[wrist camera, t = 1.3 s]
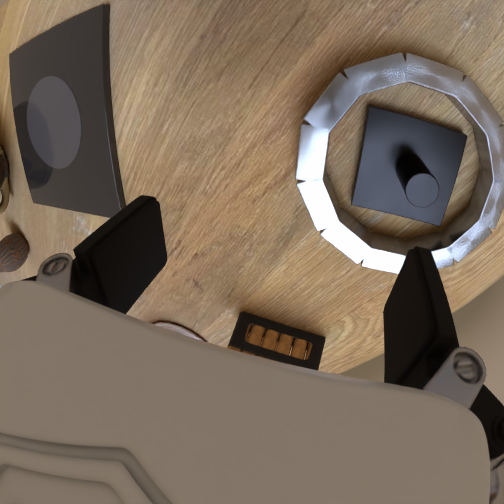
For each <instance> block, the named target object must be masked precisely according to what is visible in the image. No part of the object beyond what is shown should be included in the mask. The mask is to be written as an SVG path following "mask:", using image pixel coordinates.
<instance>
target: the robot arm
mask: <svg viewBox="0 0 504 504" xmlns="http://www.w3.org/2000/svg"><path fill="white" fill-rule="evenodd" d="M73 250H74V253H75V256H76V258H75V259H74V260H73V259H72V257H71V255H69V254H67V253H59V254H55V255H52V256H51V257H49V258H47V259H46V260H45V261H44V262H43V263H42V264H41V265H40V268H39V270H38V274H37V276H33V277H30V278H27V279H24V280H21V281H14V282H10V283H8V284H6V285H4V286H3V287H1V288H0V504H504V406H503V405H502V403H501V402H500V401H499V400H498V399H497V398H496V397H495V396H494V395H493V394H492V393H491V391H490V390H488V388H487V387H486V386H485V385H484V384H483V383H484V381H485V378H486V367H485V364H484V362H483V360H482V358H481V357H480V356H479V355H478V354H477V352H475V351H474V350H472V349H470V348H467V347H459V343H458V339H457V334H456V330H455V326H454V322H453V318H452V314H451V310H450V307H449V303H448V300H447V296H446V293H445V290H444V287H443V284H442V281H441V278H440V275H439V272H438V269H437V266H436V263H435V260H434V257H433V254H432V252H431V250H430V249H427V248H423V247H418V246H415V247H414V248H413V249H409V250H408V252H407V255H406V257H405V260H404V262H403V265H402V267H401V270H400V272H399V275H398V277H397V279H396V282H395V284H394V286H393V288H392V291H391V293H390V295H389V297H388V300H387V302H386V304H385V307H384V312H383V317H384V348H385V374H384V375H385V377H384V383H383V382H377V381H371V380H364V379H359V378H353V377H348V376H343V375H338V374H333V373H327V372H322V371H317V370H313V369H308V368H303V367H299V366H294V365H290V364H286V363H281V362H277V361H273V360H269V359H265V358H261V357H257V356H254V355H250V354H246V353H242V352H239V351H235V350H231V349H228V348H224V347H221V346H218V345H214V344H211V343H208V342H204V341H201V340H198V339H195V338H192V337H188V336H185V335H182V334H179V333H176V332H173V331H170V330H167V329H164V328H162V327H159V326H156V325H153V324H150V323H147V322H145V321H142V320H139V319H137V318H134V317H131V316H129V315H126V313H127V312H128V311H129V309H130V308H131V307H132V306H133V304H134V303H135V302H136V300H137V299H138V298H139V297H140V295H141V294H142V293H143V292H144V290H145V289H146V288H147V287H148V285H149V284H150V283H151V282H152V281H153V279H154V278H155V277H156V276H157V274H158V273H159V272H160V271H161V270H162V268H163V267H164V266H165V264H166V262H167V252H166V245H165V239H164V232H163V225H162V218H161V210H160V204H159V202H158V201H157V200H156V198H155V197H151V196H144V195H141V196H139V197H138V198H136V199H135V200H134V201H132V202H131V203H130V204H128V205H127V206H126V207H124V208H123V209H122V210H121V211H119V212H118V213H117V214H115V215H114V216H113V217H112V218H110V219H109V220H108V221H107V222H105V223H104V224H103V225H102V226H100V227H99V228H98V229H97V230H96V231H94V232H93V233H92V234H91V235H90V236H88V237H87V238H86V239H85V240H84V241H82V242H81V243H80V244H79V245H78V246H77V247H75V248H74V249H73Z"/></svg>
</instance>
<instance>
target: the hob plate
mask: <svg viewBox="0 0 504 504" xmlns="http://www.w3.org/2000/svg"><path fill="white" fill-rule="evenodd" d="M109 10H110V5H105V4H103V5H100V6H98V7H95V8H93V9H91V10H88V11H86V12H84V13H81V14H79V15H77V16H75V17H73V18H71V19H69V20H67V21H65V22H63V23H61V24H59V25H57V26H55V27H53V28H51V29H49V30H48V31H46V32H44V33H42V34H40V35H39V36H37V37H35V38H34V39H32V40H30V41H29V42H27V43H26V44H24V45H22V46H21V47H19V48H18V49H16V50H15V51H13V52H12V53H10V54H9V65H10V83H11V95H12V104H13V112H14V119H15V126H16V132H17V138H18V143H19V148H20V153H21V157H22V162H23V166H24V170H25V174H26V178H27V182H28V186H29V189H30V193H31V196H32V200H33V203H37V204H42V205H47V206H52V207H57V208H62V209H67V210H73V211H78V212H83V213H88V214H93V215H98V216H103V217H108V218H112V217H113V216H114V215H115V214H117V213H118V212H119V211H121V210H122V209H123V208H124V207H126V204H125V199H124V194H123V188H122V182H121V176H120V170H119V164H118V157H117V150H116V142H115V134H114V125H113V115H112V103H111V90H110V71H109Z"/></svg>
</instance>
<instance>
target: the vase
mask: <svg viewBox="0 0 504 504" xmlns="http://www.w3.org/2000/svg"><path fill="white" fill-rule="evenodd" d="M28 251H29V248H28V244H27V242H26V241H25V239H24V238H23V237H22V236H21V235H20V234H14V233H13V234H10V235H7V236H6V237H4V238H3V239H2V240H1V241H0V272H12V271H15V270H17V269H18V268H20V267H21V266H22V265H23V264H24V262H25V261H26V259H27V257H28Z"/></svg>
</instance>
